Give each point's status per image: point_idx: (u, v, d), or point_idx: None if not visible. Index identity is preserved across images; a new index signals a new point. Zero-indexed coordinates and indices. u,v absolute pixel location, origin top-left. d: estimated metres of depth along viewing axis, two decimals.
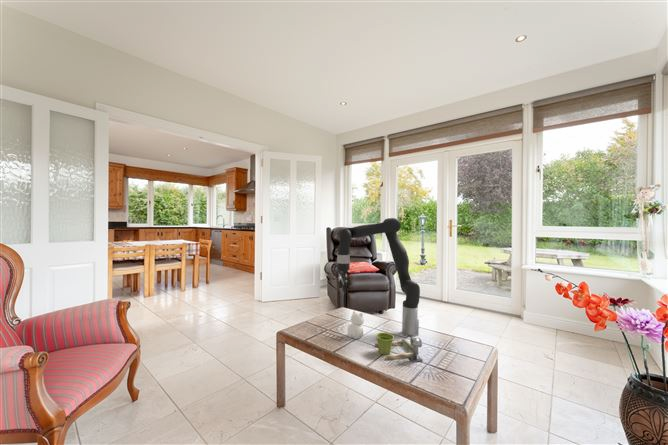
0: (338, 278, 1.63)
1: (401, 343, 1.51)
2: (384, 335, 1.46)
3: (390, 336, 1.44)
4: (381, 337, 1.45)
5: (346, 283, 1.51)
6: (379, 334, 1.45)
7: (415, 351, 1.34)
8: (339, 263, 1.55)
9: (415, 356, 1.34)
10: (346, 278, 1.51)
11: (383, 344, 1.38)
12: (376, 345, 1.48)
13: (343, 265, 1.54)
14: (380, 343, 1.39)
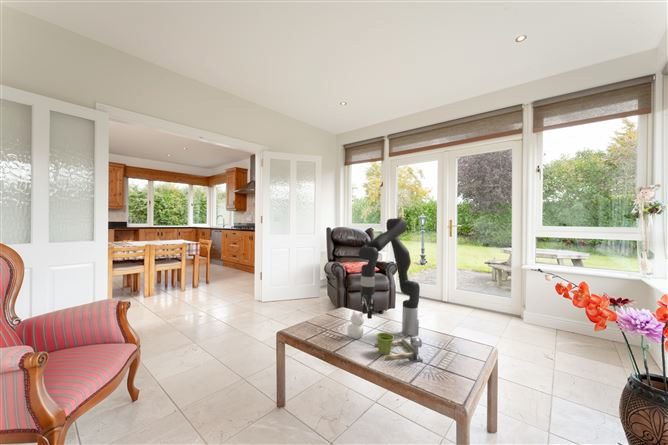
0: (361, 302, 1.45)
1: (401, 343, 1.51)
2: (384, 335, 1.46)
3: (390, 336, 1.44)
4: (381, 337, 1.45)
5: (372, 310, 1.33)
6: (379, 334, 1.45)
7: (415, 351, 1.34)
8: (363, 286, 1.37)
9: (415, 356, 1.34)
10: (372, 304, 1.33)
11: (383, 344, 1.38)
12: (376, 345, 1.48)
13: (368, 288, 1.36)
14: (380, 343, 1.39)
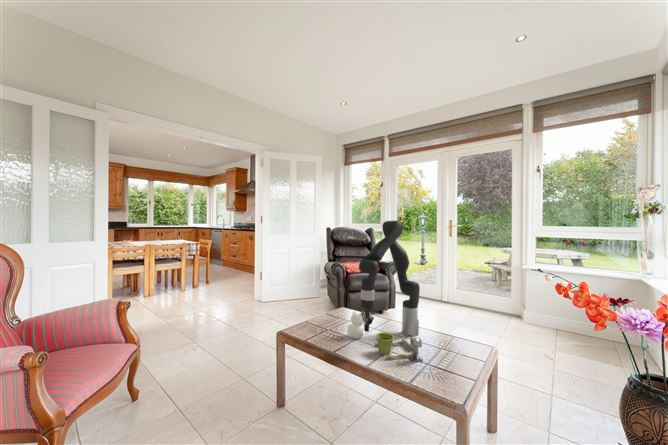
0: (363, 318, 1.41)
1: (401, 343, 1.51)
2: (384, 335, 1.46)
3: (390, 336, 1.44)
4: (381, 337, 1.45)
5: (369, 323, 1.36)
6: (379, 334, 1.45)
7: (415, 351, 1.34)
8: (363, 300, 1.37)
9: (415, 356, 1.34)
10: (370, 321, 1.35)
11: (383, 344, 1.38)
12: (376, 345, 1.48)
13: (368, 302, 1.36)
14: (380, 343, 1.39)
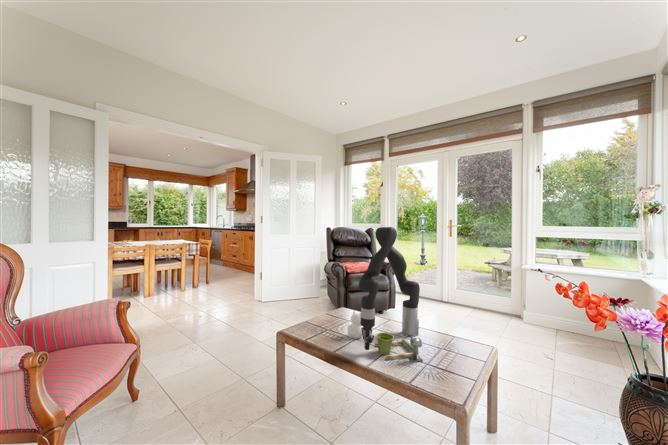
0: (363, 336, 1.41)
1: (401, 343, 1.51)
2: (384, 335, 1.46)
3: (390, 336, 1.44)
4: (381, 337, 1.45)
5: (369, 342, 1.36)
6: (379, 334, 1.46)
7: (415, 351, 1.34)
8: (363, 318, 1.37)
9: (415, 356, 1.34)
10: (370, 339, 1.35)
11: (383, 344, 1.38)
12: (376, 345, 1.48)
13: (368, 321, 1.36)
14: (380, 343, 1.39)
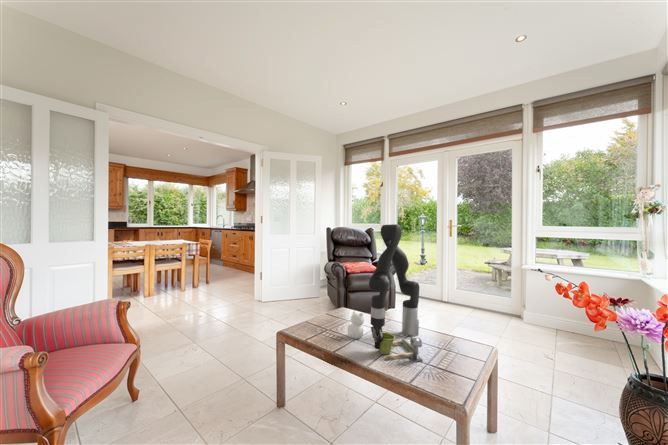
0: None
1: (401, 343, 1.51)
2: (385, 335, 1.46)
3: (391, 336, 1.44)
4: None
5: (379, 341, 1.38)
6: None
7: (415, 351, 1.34)
8: (374, 318, 1.38)
9: (415, 356, 1.34)
10: (381, 339, 1.36)
11: (384, 343, 1.38)
12: None
13: (378, 320, 1.37)
14: (381, 342, 1.39)
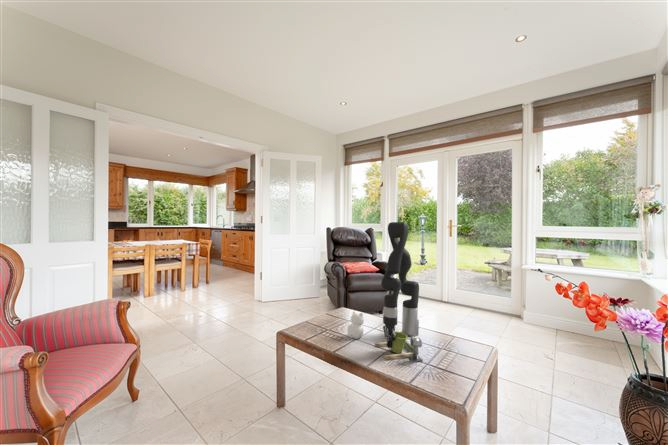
0: (385, 334, 1.44)
1: None
2: (397, 334, 1.47)
3: (403, 336, 1.46)
4: None
5: (392, 340, 1.39)
6: None
7: (415, 351, 1.34)
8: (386, 317, 1.40)
9: (415, 356, 1.34)
10: (394, 338, 1.38)
11: (396, 342, 1.40)
12: (376, 345, 1.48)
13: (391, 319, 1.39)
14: (393, 341, 1.41)
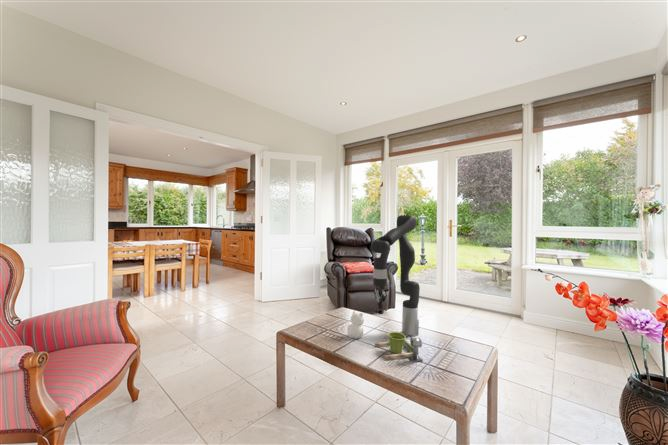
0: (376, 297, 1.47)
1: None
2: (396, 334, 1.47)
3: (402, 335, 1.45)
4: (393, 336, 1.47)
5: (382, 300, 1.42)
6: (391, 334, 1.47)
7: (415, 351, 1.34)
8: (376, 278, 1.42)
9: (415, 356, 1.34)
10: (383, 298, 1.41)
11: (395, 343, 1.40)
12: (376, 345, 1.48)
13: (381, 280, 1.42)
14: (392, 342, 1.41)
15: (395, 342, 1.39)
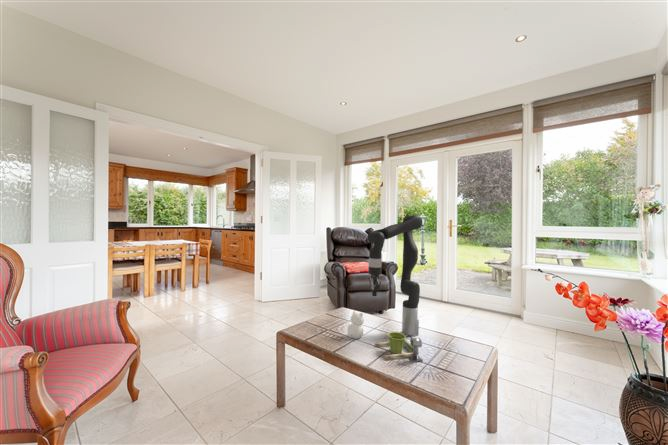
0: (371, 285, 1.56)
1: None
2: (396, 334, 1.47)
3: (402, 335, 1.45)
4: (393, 336, 1.47)
5: (376, 288, 1.51)
6: (391, 334, 1.47)
7: (415, 351, 1.34)
8: (371, 267, 1.51)
9: (415, 356, 1.34)
10: (378, 285, 1.49)
11: (395, 343, 1.40)
12: (376, 345, 1.48)
13: (375, 269, 1.50)
14: (392, 342, 1.41)
15: (395, 342, 1.39)
